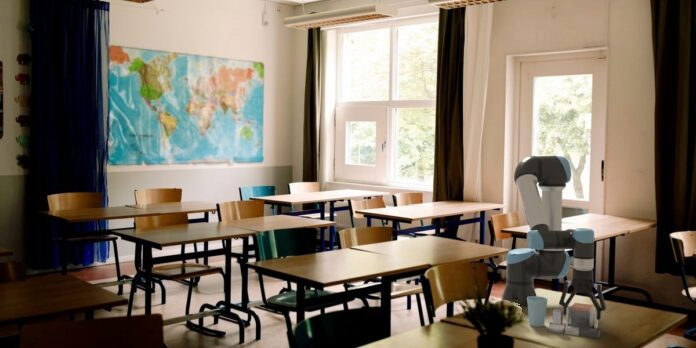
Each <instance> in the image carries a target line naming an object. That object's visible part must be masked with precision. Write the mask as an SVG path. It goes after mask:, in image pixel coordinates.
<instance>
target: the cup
mask: <svg viewBox="0 0 696 348" xmlns="http://www.w3.org/2000/svg"><path fill="white" fill-rule="evenodd" d="M527 303H528V306H527V310H528V311H527V313H528V323H529V326H531V327H537V328H538V327H539V328H540V327H544V326H545V323H546V313H547V307H548V298H547V297H544V296H538V295H536V296H531V297H527Z"/></svg>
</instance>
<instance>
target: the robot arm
mask: <svg viewBox="0 0 696 348" xmlns="http://www.w3.org/2000/svg"><path fill="white" fill-rule="evenodd" d="M571 178H572V169H571V164H570V162H569V160H568V159H567V158H566V157H565V156H561V155H529V156H526V157H525V158H523V159H522V160H521V161H520V162H519V163H518V164H517V166H516V167H515V170H514V175H513V182H514V185H515V187H516V188H517V189H519V195H520V197H521V198H520V199H521V202H522V204H523V205H522V206H523V208H524V212H525V217H526V219H527V223H528V226H529V227H528V228H529V230H528V231H527V234H526V244H527V246H528V247H527V248H525V247H523V248H515V249H512V250H510V251H508V252H507V254H506V261H505V263H506V273H505V274H506V277H505V278H506V282H505V287H504V289H503V293H502V296H501V301H502V300H508V301H511V302H515V303H518V304H520V305H522V306H521V307H528V303H527V297H531V296H537V293H536V290H535V286H534V279H554V280H556V279H562V278H564V277H566V276H567V274H568V272H569V271H570V265H571V262H570V261H571V259H570V255H569V253H568V252H567V251H566V250H573V251H572V252H573V253H572V254H573V255H572V257H573V258H572V280H568V279H567V280H565V281H564V282H563V289H562V293H561V296H560V299H559V306H562V307H563V316H565V317H566V318H565V320H566V321H565V324H566V326H569V325H570V324H571V306H569V305H570V303H571V302H572V300H573V299H574V297H575V295H576V294H577V293H582V294H587V295H588V297H589V299H590V301H591V302H592V305H593V307H594V308H595V310H594V320H593V326H594V328H593V329H598V324H599V321H600V320H601V318H602V316H601V315H602V312H603V311H606V310H607V305H606V301H605V299H604V294H603V291H602V290H603V289H602V288H603V284H601V283H595V281H594V263H595V262H594V261H595V257H594V255H595V241H596V240H595V231H594V230H593V229H592V228H587V227H585V228H584V227H582V228H581V227H579V228H578V227H577V228H575V229H572V228H568V229H564V230H563V229H562V228H563V226H562V224H563V222H562V221H563V190H564V189H565V188H567V184H568V183H570V181H571ZM538 188H540V190H541V194H540V191H539V189H538ZM535 250H537V251H535ZM571 285H572V287H573V288H574V289H573V290H572V292H571V293H570V295H569V297H568V298H567V299H566V296H567V293H568V290H569V287H571ZM593 288H595V290H596V292H597V296H598V300H597V298H596V296H595V294H594V292H593ZM565 300H566V301H565ZM598 301H599V302H598Z"/></svg>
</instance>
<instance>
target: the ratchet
mask: <svg viewBox="0 0 696 348" xmlns="http://www.w3.org/2000/svg"><path fill="white" fill-rule="evenodd" d="M563 320H564V309H557V308H556V309H553V310H552V321H550V322H549V324H548V325H549V329H548V332H549V333H551V334H554V335H555V334H556V335H561V334H565V335H571V336H572V335H573V336H576V337H577V336H578V337H584V338H591V339H595V340H596V339H598V340H600V339H599V338H600V337H601V329H598V328H596V329H595V328H592V327H591V328H584V327H573V326H571V325H567V324H566V322H564V321H563Z"/></svg>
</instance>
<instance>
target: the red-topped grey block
mask: <svg viewBox="0 0 696 348" xmlns="http://www.w3.org/2000/svg"><path fill="white" fill-rule="evenodd" d="M570 326H573V327H584V328H591V329H592V327H593V326H594V304H588V303H579V302H574V303H573V304H572V305H571V306H570Z"/></svg>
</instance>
